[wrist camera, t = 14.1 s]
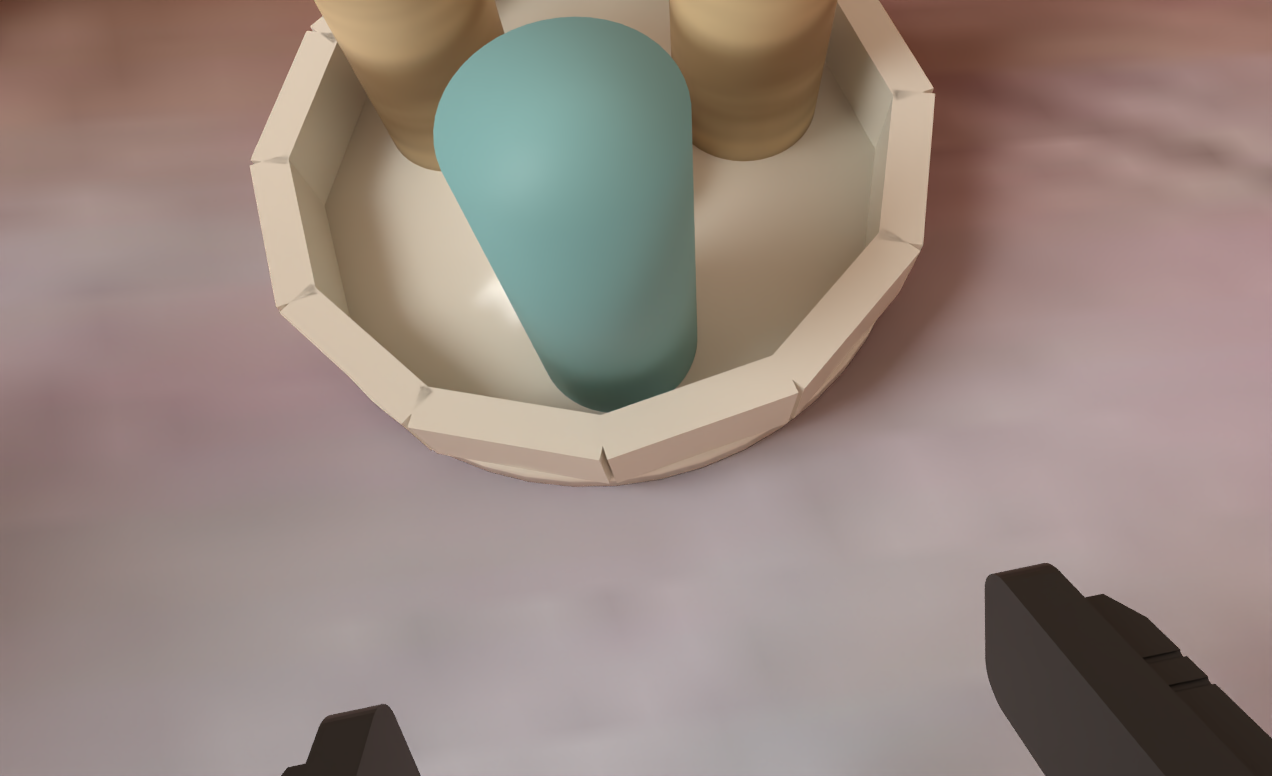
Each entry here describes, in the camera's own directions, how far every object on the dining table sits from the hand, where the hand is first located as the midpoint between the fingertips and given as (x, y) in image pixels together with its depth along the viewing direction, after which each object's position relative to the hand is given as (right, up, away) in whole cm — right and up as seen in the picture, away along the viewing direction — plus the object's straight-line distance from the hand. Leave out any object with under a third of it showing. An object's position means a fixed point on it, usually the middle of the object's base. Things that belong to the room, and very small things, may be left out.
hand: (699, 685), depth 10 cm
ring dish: (-2, +11, +17) cm, 20 cm away
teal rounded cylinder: (-1, +5, +13) cm, 14 cm away
